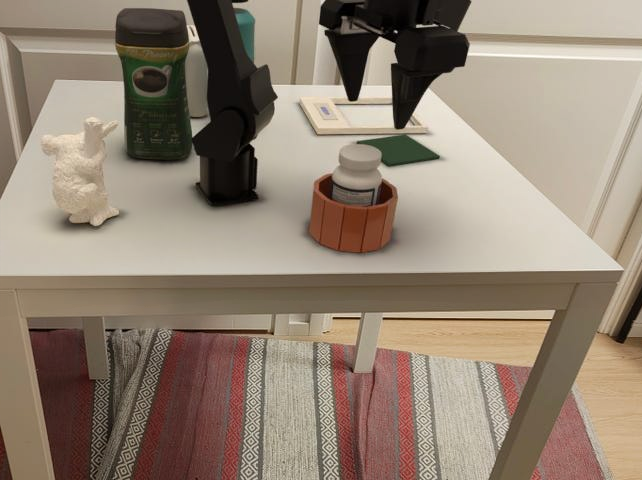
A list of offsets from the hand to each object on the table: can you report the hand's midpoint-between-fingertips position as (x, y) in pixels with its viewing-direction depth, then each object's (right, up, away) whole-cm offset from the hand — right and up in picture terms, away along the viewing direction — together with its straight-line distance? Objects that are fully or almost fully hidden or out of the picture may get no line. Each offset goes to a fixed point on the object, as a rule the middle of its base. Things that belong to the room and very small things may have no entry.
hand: (375, 114), depth 72 cm
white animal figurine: (-33, -10, +6) cm, 35 cm away
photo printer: (-24, +15, +37) cm, 47 cm away
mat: (+8, +4, +26) cm, 28 cm away
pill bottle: (-2, -12, +6) cm, 14 cm away
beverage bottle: (-17, +10, +31) cm, 37 cm away
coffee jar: (-27, +3, +23) cm, 36 cm away
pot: (-2, -12, +6) cm, 13 cm away
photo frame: (+4, +13, +37) cm, 39 cm away
